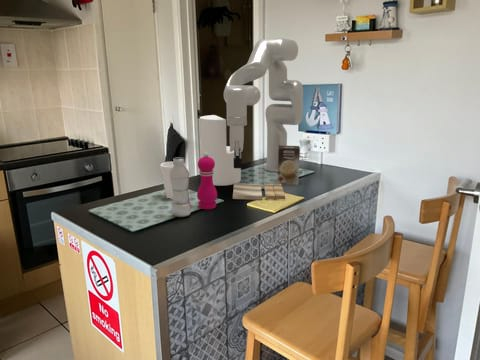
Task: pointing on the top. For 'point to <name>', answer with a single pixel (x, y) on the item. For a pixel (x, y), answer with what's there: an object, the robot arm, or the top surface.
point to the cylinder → (218, 150)
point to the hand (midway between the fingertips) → (237, 167)
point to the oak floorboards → (274, 191)
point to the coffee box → (288, 165)
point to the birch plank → (247, 191)
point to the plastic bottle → (180, 188)
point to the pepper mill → (206, 183)
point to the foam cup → (167, 178)
